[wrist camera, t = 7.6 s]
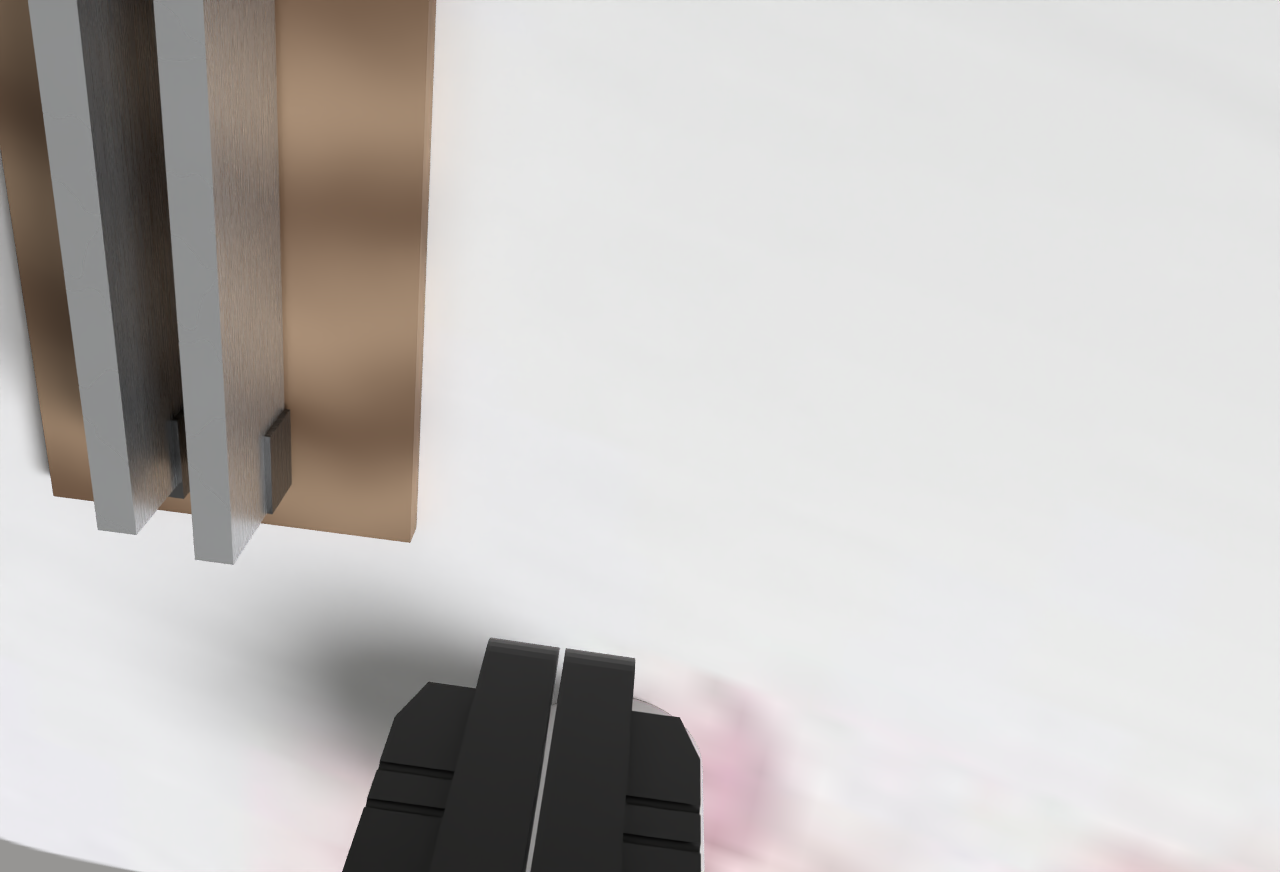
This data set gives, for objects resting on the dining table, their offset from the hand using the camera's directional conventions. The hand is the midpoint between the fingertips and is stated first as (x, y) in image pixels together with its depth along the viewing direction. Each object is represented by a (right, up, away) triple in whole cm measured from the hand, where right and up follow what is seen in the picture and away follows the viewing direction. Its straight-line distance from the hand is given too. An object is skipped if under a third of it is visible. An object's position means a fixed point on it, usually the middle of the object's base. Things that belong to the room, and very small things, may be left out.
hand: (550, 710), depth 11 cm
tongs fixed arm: (-13, +12, +21) cm, 27 cm away
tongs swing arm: (-11, +10, +22) cm, 27 cm away
